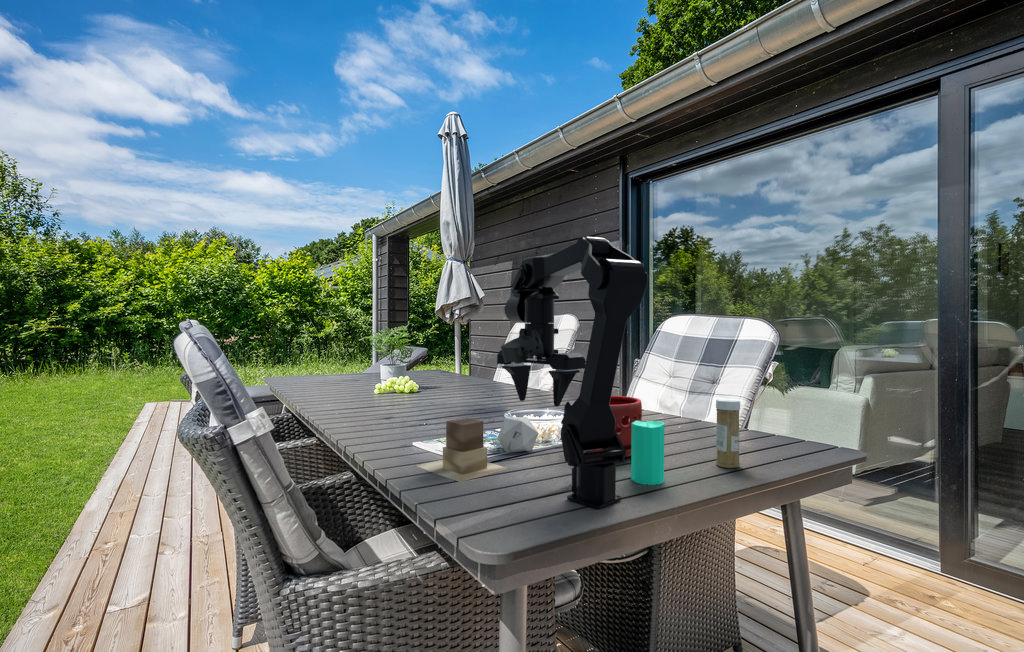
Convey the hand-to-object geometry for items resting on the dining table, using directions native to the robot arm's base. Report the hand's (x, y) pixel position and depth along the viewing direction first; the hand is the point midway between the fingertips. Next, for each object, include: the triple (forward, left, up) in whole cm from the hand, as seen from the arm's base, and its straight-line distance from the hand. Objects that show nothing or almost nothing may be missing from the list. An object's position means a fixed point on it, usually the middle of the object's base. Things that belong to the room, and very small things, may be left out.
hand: (539, 403), depth 104 cm
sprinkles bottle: (-24, -30, -13) cm, 41 cm away
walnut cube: (+8, +12, -8) cm, 17 cm away
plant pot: (-2, -21, -13) cm, 25 cm away
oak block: (+8, +12, -12) cm, 19 cm away
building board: (+9, +12, -13) cm, 20 cm away
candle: (-18, -10, -13) cm, 24 cm away
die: (+12, -6, -13) cm, 19 cm away
